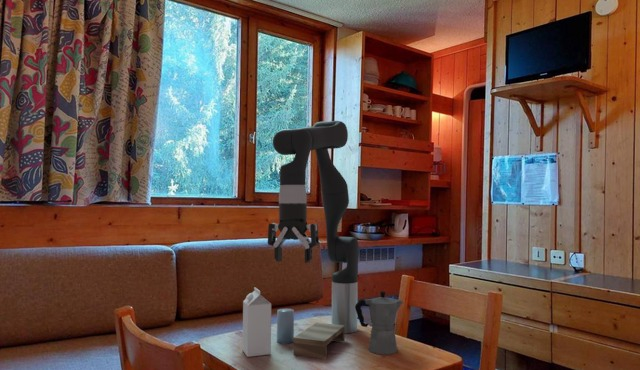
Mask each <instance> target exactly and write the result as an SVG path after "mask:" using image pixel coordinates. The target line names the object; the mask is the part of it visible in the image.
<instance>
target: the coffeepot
mask: <svg viewBox="0 0 640 370" xmlns="http://www.w3.org/2000/svg"><path fill="white" fill-rule="evenodd" d="M385 296H386V291H384V290H382V291H381V290H380V296H379V297H374V298H369V299H359V300H357V304H356V305H355V309H356V312H357V319H358V320H359V323H360V326H361V327H364V328H365V327H366V328H367V327H369V323H365V318H364V315H363V310H362V307H363V306H364V307H368V311H369V315H370V322H371V327H372V328H371V332H370V337H369V344H368V351H369V352H370V353H373V354H375V355H393V354H396V353H397V352H398V346H397V345H398V344H397V339H396V332H395V321H396V315H397V312H398V310H399V309H400V307H401V305H402V304H404V302H403V300H400V299H394V298H389V297H385Z"/></svg>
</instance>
